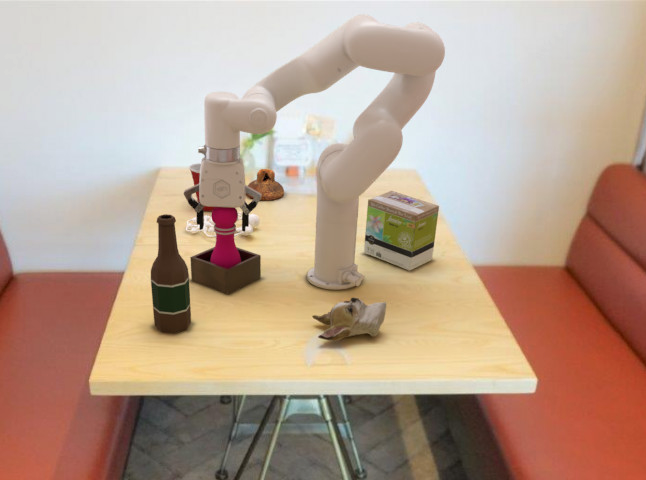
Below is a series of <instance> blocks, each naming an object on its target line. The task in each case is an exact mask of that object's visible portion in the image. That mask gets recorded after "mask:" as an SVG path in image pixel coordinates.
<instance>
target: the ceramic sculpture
mask: <svg viewBox="0 0 646 480" xmlns="http://www.w3.org/2000/svg"><path fill="white" fill-rule="evenodd" d="M387 304H388V303H387V302H386V301H383V302H374V303H370V304H366V303H365V302H364V300H363V299H360V298H359V297H351V298H350V300H344V301H340V302H337V303H336V304H335V305H334V306H332V308H331V309H330V311H328V312H327V313H324V314H321V315H315V314H314V315H311V316H312V319H314V320H315V321H318V322H319V323H321V324H324V325H325V326H326V325H327V326H330V327H328V328H326V329H325V331H324V332H323V333H321V334H319V335H318V336H317V338H319V339H322V340H326V341H331V342H337V341H340V340H343V339H344V338H348V337H353V336H358V335H364V334H368V335H369V336H371V337H373V338H375V337H376V336H377V335H378V334H379V330H380V329H381V326H382V325H383V323H384V321H385V318H386V317H385V316H386V310H387Z"/></svg>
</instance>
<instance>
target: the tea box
mask: <svg viewBox="0 0 646 480" xmlns="http://www.w3.org/2000/svg"><path fill="white" fill-rule="evenodd" d="M366 208H367V210H366V221H365V223H366V224H365V232H364V233H365V234H364V247H363V250H364V251H363V254H365V255H369V256H372V257H375V258H377V259H379V260H382V261H384V262H387V263H390V264H392V265H394V266H397V267H400V268H402V269H404V270H406V271H409V272H410V271H412V270H415V269H416V268H418V267H421V266H422V265H425V264H426V263H429V262H431V261H432V260H433V255H434V248H435V240H436V233H437V226H438V225H437V224H438V219H439V211H440V210H439V209H440V205H438V204H435V203H431V202H428V201H425V200H422V199H419V198H415V197H412V196H409V195H406V194H403V193H401V192H397V191H393V190H390V191H387V192H385V193H383V194H380V195H377V196H375V197H372V198H370V199H367V207H366Z"/></svg>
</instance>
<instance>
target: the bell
mask: <svg viewBox="0 0 646 480" xmlns="http://www.w3.org/2000/svg"><path fill="white" fill-rule="evenodd" d="M275 176H276V174H275V171H274V170H272V169H268V168H261V169H259V170H258V171H257V173H256V179H254V180H252V181H250V183H248V184H247V186H249V187H250V188H252V189H254V190H256V191H258V192H259V193H261V199H260V201H272V200H277V199H279V198H282V197H283V196H284V194H285V189H284V187H283V185H282V184H281V183H280V182H278V181H276V179H275V178H276V177H275ZM245 196H247V197H248V198H250V199H252V200H253V199H254V197H252V196H251V195H249V194H247V193H246V194H245Z"/></svg>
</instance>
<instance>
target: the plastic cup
mask: <svg viewBox="0 0 646 480" xmlns="http://www.w3.org/2000/svg"><path fill="white" fill-rule="evenodd" d="M188 167H189V168H188V169H189V171H190V173H191V178H192V182H193V186H195V185H197V184H199V180H200V167H201V162H198V163H194V164H191V165H189V166H188ZM195 196H196V201H197V202H199V201H200V200H199V191H198V192H196V193H195ZM213 208H214V207H209V206H204V207H203V209H204V212H212V210H213Z"/></svg>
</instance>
